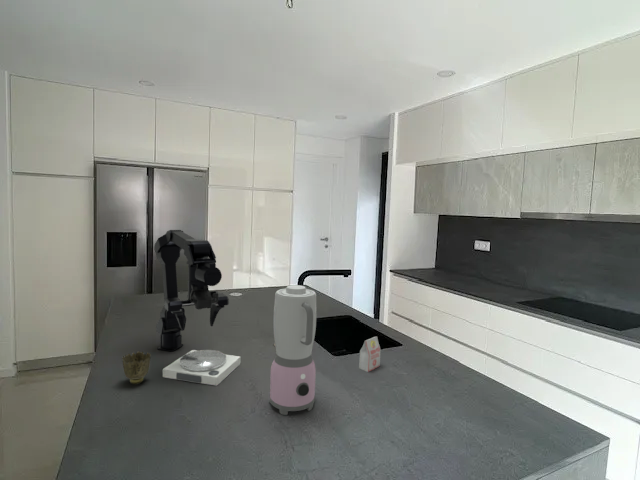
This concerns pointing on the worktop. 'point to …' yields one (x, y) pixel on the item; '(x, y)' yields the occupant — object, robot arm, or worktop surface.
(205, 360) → the scale pan
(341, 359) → the worktop surface
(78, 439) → the worktop surface
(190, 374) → the scale base
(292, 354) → the blender
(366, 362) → the milk carton
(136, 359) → the cup
